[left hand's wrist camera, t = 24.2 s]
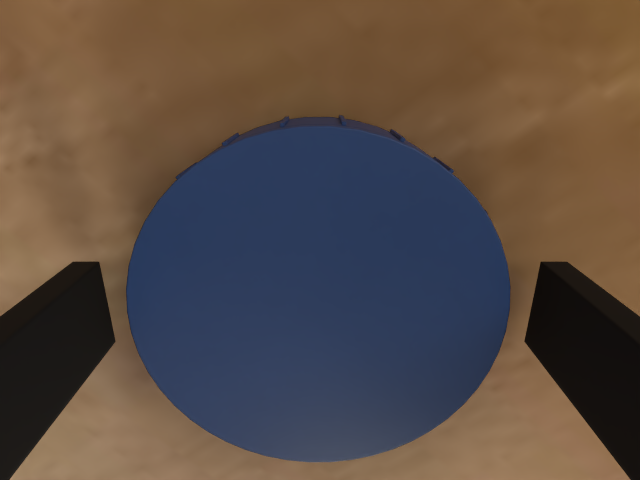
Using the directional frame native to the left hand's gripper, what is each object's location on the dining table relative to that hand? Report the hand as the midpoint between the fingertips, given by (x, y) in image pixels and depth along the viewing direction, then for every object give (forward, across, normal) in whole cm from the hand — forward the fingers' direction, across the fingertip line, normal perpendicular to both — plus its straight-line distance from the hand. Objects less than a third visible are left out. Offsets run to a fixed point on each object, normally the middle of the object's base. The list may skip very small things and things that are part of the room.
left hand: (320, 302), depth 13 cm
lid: (-1, 0, 0) cm, 1 cm away
